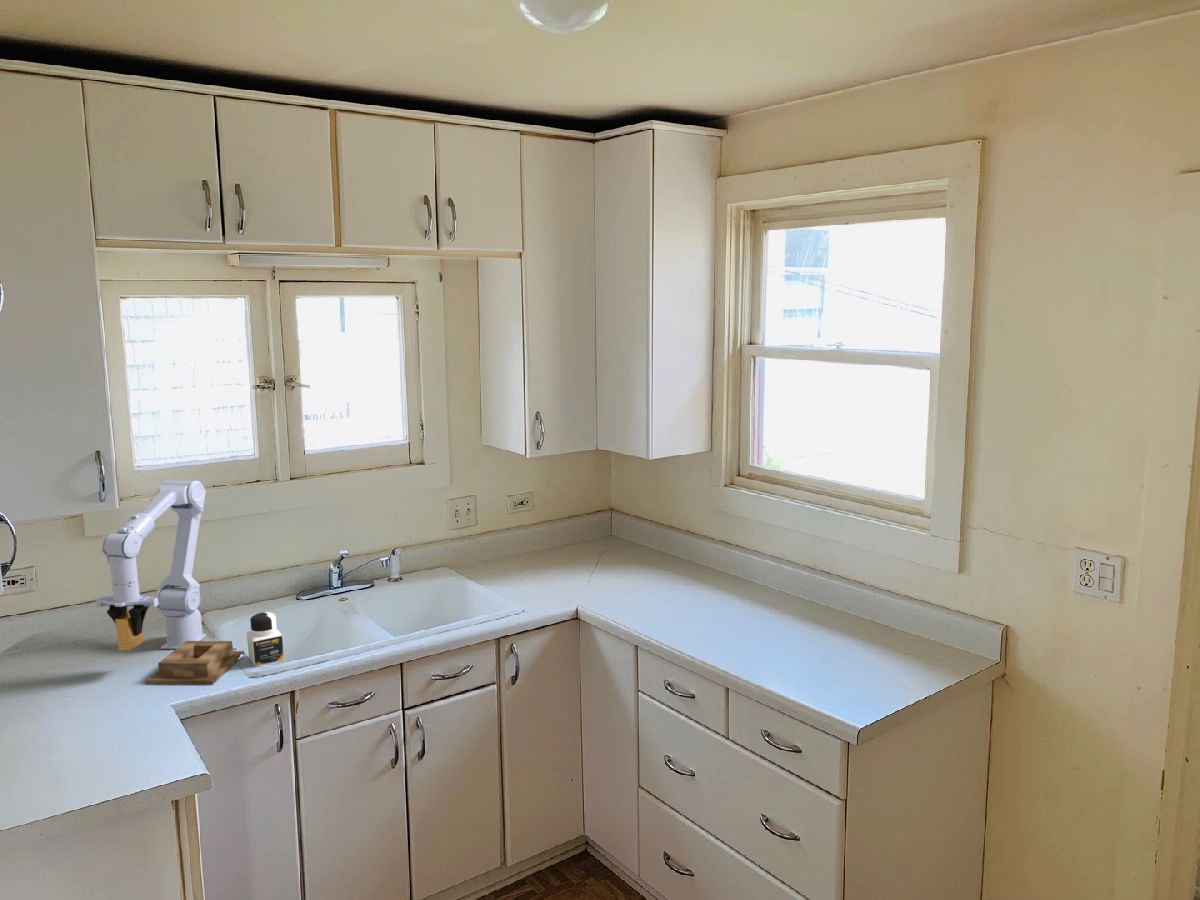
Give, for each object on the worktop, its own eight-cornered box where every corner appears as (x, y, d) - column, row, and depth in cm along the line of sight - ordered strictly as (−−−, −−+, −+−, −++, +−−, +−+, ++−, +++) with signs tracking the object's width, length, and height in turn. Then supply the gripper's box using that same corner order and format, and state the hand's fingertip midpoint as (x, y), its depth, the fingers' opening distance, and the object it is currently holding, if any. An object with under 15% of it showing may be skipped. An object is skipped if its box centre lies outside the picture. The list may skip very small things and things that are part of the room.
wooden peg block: (132, 640, 228) (128, 610, 226) (144, 640, 228) (140, 610, 226) (118, 650, 222) (115, 619, 221) (130, 650, 222) (127, 619, 220)
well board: (184, 654, 237) (182, 637, 236) (244, 654, 236) (243, 638, 235) (147, 684, 219) (145, 666, 218) (212, 684, 219) (210, 666, 218)
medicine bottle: (255, 667, 228) (251, 622, 226) (248, 658, 234) (244, 613, 232) (284, 660, 232) (280, 616, 230) (277, 651, 238) (273, 607, 236)
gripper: (86, 586, 219) (92, 640, 221) (145, 586, 218) (151, 640, 220) (103, 577, 226) (109, 629, 228) (160, 577, 225) (166, 629, 227)
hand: (131, 634), depth 225 cm, fingers closed on wooden peg block, 3 cm apart
